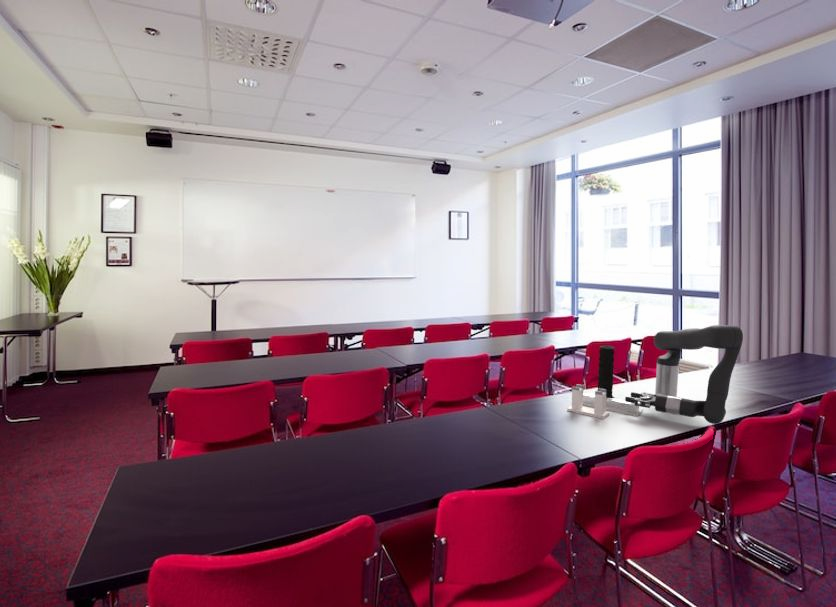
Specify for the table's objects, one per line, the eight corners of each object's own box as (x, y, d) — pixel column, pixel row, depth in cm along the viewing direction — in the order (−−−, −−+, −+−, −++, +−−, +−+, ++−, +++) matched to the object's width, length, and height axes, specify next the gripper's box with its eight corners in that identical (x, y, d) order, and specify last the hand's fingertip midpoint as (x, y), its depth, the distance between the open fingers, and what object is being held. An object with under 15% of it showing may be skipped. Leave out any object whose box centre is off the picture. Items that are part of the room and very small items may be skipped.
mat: (581, 398, 222) (581, 397, 222) (643, 410, 204) (643, 409, 204) (573, 403, 214) (573, 402, 214) (637, 416, 196) (637, 415, 196)
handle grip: (618, 401, 216) (611, 395, 226) (621, 347, 213) (614, 343, 223) (597, 401, 217) (591, 394, 227) (599, 346, 214) (593, 342, 224)
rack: (573, 406, 208) (574, 383, 207) (609, 414, 198) (610, 389, 197) (567, 410, 203) (568, 386, 202) (604, 419, 193) (605, 393, 192)
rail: (582, 401, 214) (582, 394, 214) (585, 400, 217) (585, 393, 217) (636, 413, 199) (637, 405, 199) (639, 411, 202) (639, 403, 201)
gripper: (672, 391, 197) (633, 385, 208) (665, 399, 187) (624, 392, 197) (671, 408, 198) (632, 400, 209) (664, 417, 187) (623, 408, 198)
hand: (628, 396), depth 203 cm, fingers open, 8 cm apart
